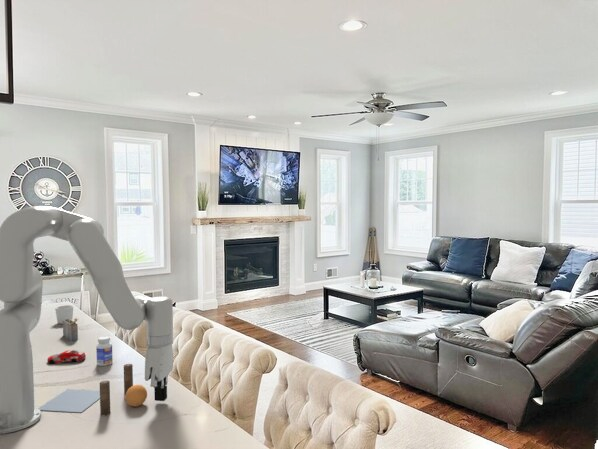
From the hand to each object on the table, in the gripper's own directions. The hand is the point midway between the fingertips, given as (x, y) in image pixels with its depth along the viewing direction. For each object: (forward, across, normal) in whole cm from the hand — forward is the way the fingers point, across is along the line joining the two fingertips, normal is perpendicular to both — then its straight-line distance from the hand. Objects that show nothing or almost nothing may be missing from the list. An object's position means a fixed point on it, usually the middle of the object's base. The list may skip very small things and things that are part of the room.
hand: (160, 399), depth 130 cm
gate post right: (+1, -5, -13) cm, 14 cm away
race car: (+2, -30, -51) cm, 59 cm away
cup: (+2, -81, -87) cm, 119 cm away
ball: (-2, +2, -7) cm, 7 cm away
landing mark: (+1, +1, -27) cm, 27 cm away
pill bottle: (+1, -29, -35) cm, 45 cm away
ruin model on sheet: (+2, -57, -68) cm, 89 cm away
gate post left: (+1, +8, -13) cm, 15 cm away
